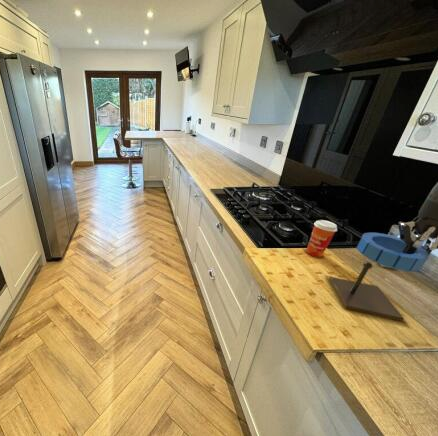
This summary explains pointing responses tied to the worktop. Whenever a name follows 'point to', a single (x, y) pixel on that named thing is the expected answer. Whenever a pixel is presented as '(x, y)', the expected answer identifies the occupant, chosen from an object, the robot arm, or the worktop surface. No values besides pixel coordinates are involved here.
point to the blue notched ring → (391, 252)
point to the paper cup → (320, 237)
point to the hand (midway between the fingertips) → (412, 257)
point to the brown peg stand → (364, 296)
